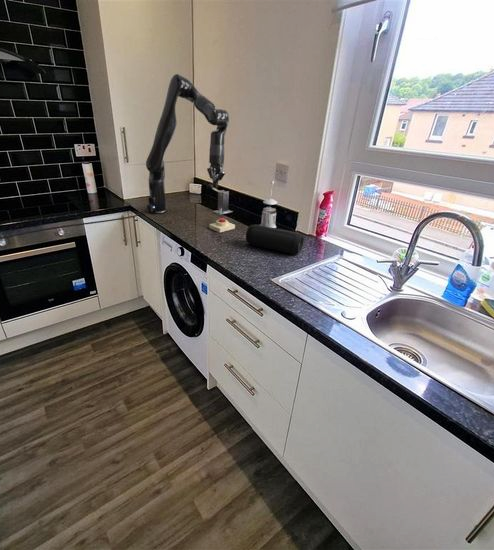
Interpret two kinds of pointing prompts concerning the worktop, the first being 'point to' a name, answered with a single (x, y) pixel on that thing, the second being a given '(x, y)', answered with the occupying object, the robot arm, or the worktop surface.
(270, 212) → the french press
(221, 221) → the button
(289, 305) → the worktop surface
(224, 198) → the bracket
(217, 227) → the control block
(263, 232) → the portable speaker
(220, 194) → the lever
